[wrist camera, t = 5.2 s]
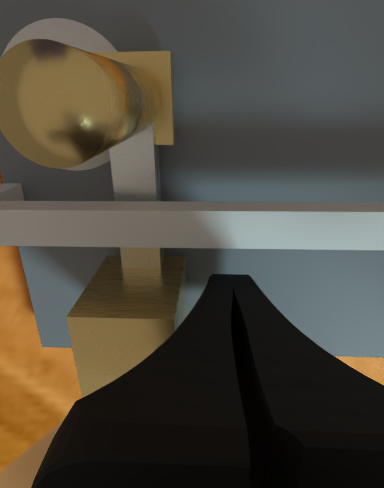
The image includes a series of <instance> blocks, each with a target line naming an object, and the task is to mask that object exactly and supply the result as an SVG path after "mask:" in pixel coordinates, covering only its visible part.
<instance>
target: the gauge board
mask: <svg viewBox="0 0 384 488" xmlns="http://www.w3.org/2000/svg"><path fill="white" fill-rule="evenodd" d="M31 39H48V40H53V41H57V42H60V43H63V44H66V45H69V46H72V47H75V48H79V49H82V50H85V51H88V52H91V53H95V52H137V51H171V52H172V53H173V71H174V102H175V133H176V142H175V144H174V145H158V146H159V165H160V184H161V201H115V198H114V189H113V180H112V171H111V162H110V152H109V149H108V150H106V151H104V152H103V153H101V154H99V155H97V156H95V157H93V158H91V159H89V160H87V161H86V162H84V163H82V164H80V165H77V166H74V167H70V168H50V167H45V166H42V165H39V164H37V163H35V162H33V161H31V160H29V159H27V158H26V157H24V156H23V155H22V154H20V153H19V152H18V151H17V150H16V149H15V148H14V147H13V146H12V145H11V144H10V143H9V142H8V140H7V139H6V138H5V136H4V135H3V133H2V132H1V130H0V174H1V178H2V182H3V183H2V184H0V246H18V248H19V252H20V257H21V261H22V265H23V269H24V273H25V277H26V281H27V285H28V290H29V294H30V298H31V302H32V306H33V310H34V314H35V319H36V323H37V327H38V331H39V335H40V339H41V343H42V347H63V348H72V343H71V338H70V333H69V328H68V323H67V318H66V317H67V315H68V314H69V312H70V311H71V309H72V308H73V306H74V305H75V303H76V301H77V300H78V298H79V297H80V295H81V294H82V292H83V291H84V289H85V288H86V286H87V285H88V283H89V282H90V280H91V279H92V277H93V276H94V274H95V273H96V271H97V270H98V268H99V267H100V265H101V264H102V262H103V261H104V259H105V258H106V256H107V255H121V253H120V247H145V248H164V256H186V292H187V315H188V314H189V313H190V311H191V310H192V309H193V307H194V306H195V304H196V302H197V301H198V299H199V298H200V296H201V294H202V293H203V291H204V289H205V287H206V285H207V282H208V280H209V277H210V276H211V275H212V274H240V275H250V276H251V277H252V279H253V280H254V281H255V283H256V284H257V285H258V287H259V288H260V289H261V290H262V292H263V293H264V294H265V295H266V297H267V298H268V299H269V300H270V301H271V302H272V303H273V304H274V306H275V307H276V308H277V309H278V310H279V311H280V312H281V313H282V314H283V315H284V316H285V317H286V318H287V319H288V320H289V321H290V322H291V323H292V324H293V325H294V326H295V327H296V328H298V329H299V330H300V331H301V332H302V333H303V334H305V335H306V336H307V337H308V338H310V339H311V340H312V341H314V342H315V343H316V344H317V345H319V346H320V347H321V348H323V349H324V350H326V351H327V352H328V353H330V354H331V355H333V356H352V357H384V0H0V59H1V57H2V56H3V55H4V54H5V53H6V52H7V51H8V50H9V49H10V48H12V47H13V46H15V45H16V44H19V43H21V42H23V41H27V40H31Z"/></svg>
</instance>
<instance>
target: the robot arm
mask: <svg viewBox="0 0 384 488" xmlns="http://www.w3.org/2000/svg"><path fill="white" fill-rule="evenodd" d="M31 488H384V386H383V385H382V384H380V383H378V382H376V381H374V380H372V379H371V378H369V377H367V376H365V375H363V374H362V373H360V372H358V371H357V370H355V369H353V368H351V367H350V366H348V365H347V364H345V363H344V362H342V361H341V360H339V359H338V358H336V357H334V356H333V355H331V354H330V353H328V352H327V351H326V350H324V349H323V348H321V347H320V346H319V345H317V344H316V343H315V342H314V341H312V340H311V339H310V338H308V337H307V336H306V335H305V334H303V333H302V332H301V331H300V330H299V329H298V328H296V327H295V326H294V325H293V324H292V323H291V322H290V321H289V320H288V319H287V318H286V317H285V316H284V315H283V314H282V313H281V312H280V311H279V310H278V309H277V308H276V307H275V306H274V304H273V303H272V302H271V301H270V300H269V299H268V298H267V297H266V295H265V294H264V293H263V292H262V290H261V289H260V288H259V287H258V285H257V284H256V283H255V281H254V280H253V279H252V277H251V276H250V275H240V274H212V275H211V276H210V277H209V280H208V282H207V285H206V287H205V289H204V291H203V293H202V294H201V296H200V298H199V299H198V301H197V302H196V304H195V306H194V307H193V309H192V310H191V311H190V313H189V314H188V315H187V317H186V318H185V319H184V321H183V322H182V323H181V324H180V325H179V327H178V328H177V329H176V330H175V331H174V332H173V333H172V334H171V335H170V336H169V337H168V339H167V340H166V341H165V342H163V343H162V344H161V345H160V346H159V347H158V348H157V349H156V350H155V351H154V352H152V353H151V354H150V355H149V356H148V357H147V358H145V359H144V360H143V361H142V362H140V363H139V364H138V365H136V366H135V367H133V368H132V369H131V370H129V371H128V372H126V373H125V374H123V375H122V376H120V377H119V378H117V379H115V380H114V381H112V382H110V383H109V384H107V385H105V386H103V387H101V388H100V389H98V390H96V391H94V392H92V393H91V394H89V395H87V396H85V397H83V398H81V399H79V400H77V401H76V402H75V403H74V405H73V406H72V408H71V410H70V411H69V413H68V415H67V416H66V418H65V419H64V421H63V423H62V424H61V426H60V428H59V429H58V431H57V433H56V434H55V436H54V438H53V440H52V442H51V444H50V446H49V448H48V451H47V453H46V455H45V457H44V459H43V461H42V463H41V466H40V468H39V470H38V472H37V475H36V476H35V479H34V481H33V485H32V487H31Z"/></svg>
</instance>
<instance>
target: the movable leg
mask: <svg viewBox="0 0 384 488" xmlns="http://www.w3.org/2000/svg"><path fill="white" fill-rule="evenodd" d="M0 130H1V132H2V133H3V135H4V136H5V138H6V139H7V140H8V142H9V143H10V144H11V145H12V146H13V147H14V148H15V149H16V150H17V151H18V152H19V153H20V154H22V155H23V156H24V157H26V158H27V159H29V160H31V161H33V162H35V163H37V164H39V165H42V166H45V167H50V168H70V167H74V166H77V165H80V164H82V163H84V162H86V161H87V160H89V159H91V158H93V157H95V156H97V155H99V154H101V153H103V152H104V151H106V150H108V149H109V152H110V162H111V171H112V180H113V189H114V198H115V201H161V184H160V165H159V146H158V145H174V144H175V142H176V133H175V102H174V71H173V53H172V52H171V51H137V52H95V53H91V52H88V51H85V50H82V49H79V48H75V47H72V46H69V45H66V44H63V43H60V42H57V41H53V40H48V39H31V40H27V41H23V42H21V43H19V44H16V45H15V46H13V47H12V48H10V49H9V50H8V51H7V52H6V53H5V54H4V55H3V56H2V57H1V59H0ZM120 253H121V255H107V256H106V258H105V259H104V261H103V262H102V264H101V265H100V267H99V268H98V270H97V271H96V273H95V274H94V276H93V277H92V279H91V280H90V282H89V283H88V285H87V286H86V288H85V289H84V291H83V292H82V294H81V295H80V297H79V298H78V300H77V301H76V303H75V305H74V306H73V308H72V309H71V311H70V312H69V314H68V315H67V317H66V318H67V323H68V328H69V333H70V338H71V343H72V348H73V354H74V359H75V364H76V369H77V374H78V379H79V384H80V389H81V394H82V397H85V396H87V395H89V394H91V393H92V392H94V391H96V390H98V389H100V388H101V387H103V386H105V385H107V384H109V383H110V382H112V381H114V380H115V379H117V378H119V377H120V376H122V375H123V374H125V373H126V372H128V371H129V370H131V369H132V368H133V367H135V366H136V365H138V364H139V363H140V362H142V361H143V360H144V359H145V358H147V357H148V356H149V355H150V354H151V353H152V352H154V351H155V350H156V349H157V348H158V347H159V346H160V345H161V344H162V343H163V342H165V341H166V340H167V339H168V337H169V336H170V335H171V334H172V333H173V332H174V331H175V330H176V329H177V328H178V327H179V325H180V324H181V323H182V322H183V321H184V319H185V318H186V317H187V292H186V256H164V248H145V247H120Z"/></svg>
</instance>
